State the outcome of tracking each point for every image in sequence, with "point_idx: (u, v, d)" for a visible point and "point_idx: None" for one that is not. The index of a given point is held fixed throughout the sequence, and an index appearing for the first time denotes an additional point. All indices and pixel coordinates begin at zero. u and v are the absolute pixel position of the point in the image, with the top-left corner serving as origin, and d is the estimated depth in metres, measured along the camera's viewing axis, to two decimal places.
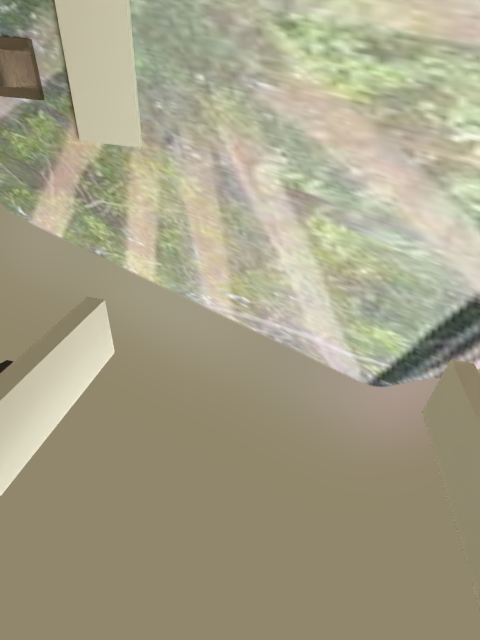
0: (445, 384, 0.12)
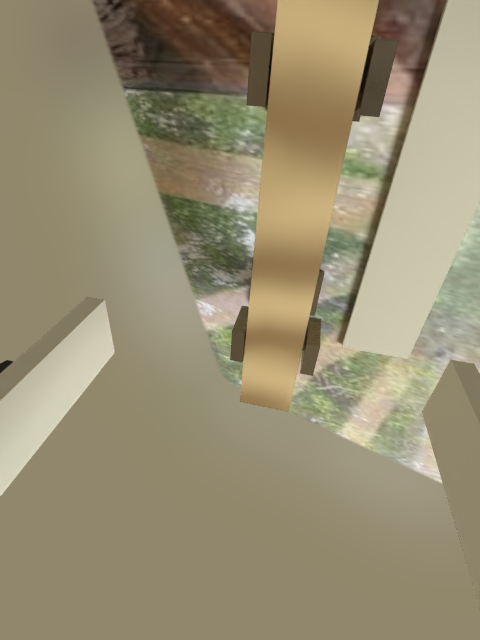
0: (444, 385, 0.12)
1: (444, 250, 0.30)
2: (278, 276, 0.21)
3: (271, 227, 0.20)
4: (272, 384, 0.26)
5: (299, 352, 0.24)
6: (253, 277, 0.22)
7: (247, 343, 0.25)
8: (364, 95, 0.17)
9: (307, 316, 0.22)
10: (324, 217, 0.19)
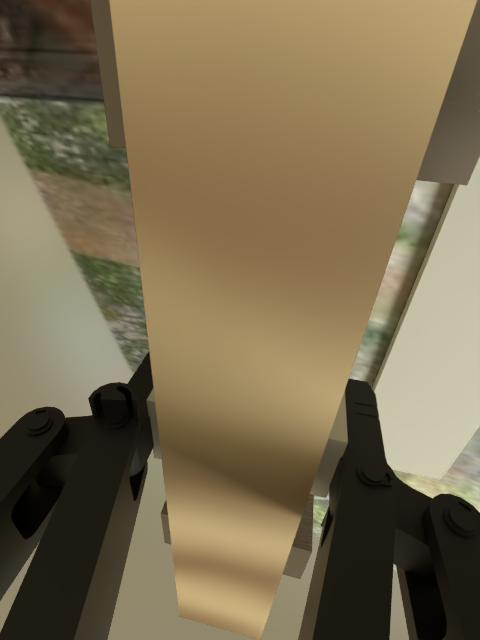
0: None
1: None
2: (219, 499, 0.10)
3: (191, 427, 0.08)
4: (229, 612, 0.15)
5: (272, 591, 0.13)
6: (169, 493, 0.10)
7: (177, 566, 0.13)
8: None
9: (284, 556, 0.11)
10: (314, 425, 0.07)
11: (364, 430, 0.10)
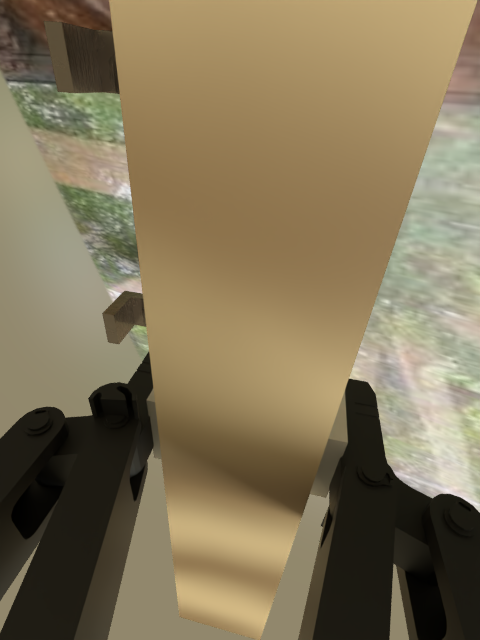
0: None
1: None
2: (219, 500, 0.10)
3: (191, 428, 0.08)
4: (229, 612, 0.15)
5: (272, 592, 0.13)
6: (169, 494, 0.10)
7: (177, 566, 0.13)
8: None
9: (284, 557, 0.11)
10: (314, 426, 0.07)
11: (364, 430, 0.10)
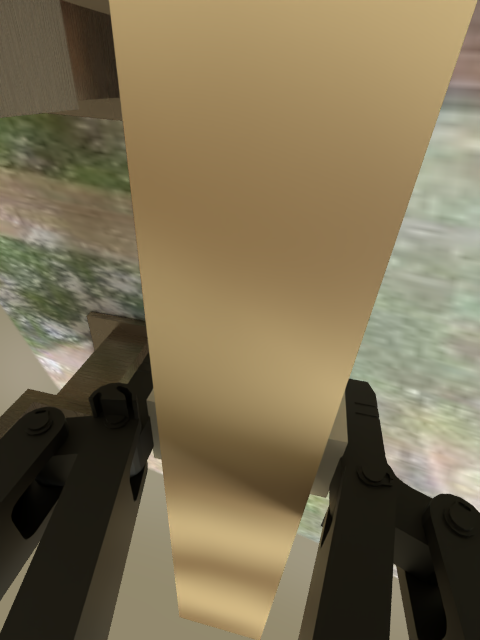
0: None
1: None
2: (219, 501, 0.10)
3: (191, 429, 0.08)
4: (229, 612, 0.15)
5: (272, 592, 0.13)
6: (169, 494, 0.10)
7: (177, 567, 0.13)
8: None
9: (284, 557, 0.11)
10: (313, 426, 0.07)
11: (364, 429, 0.10)
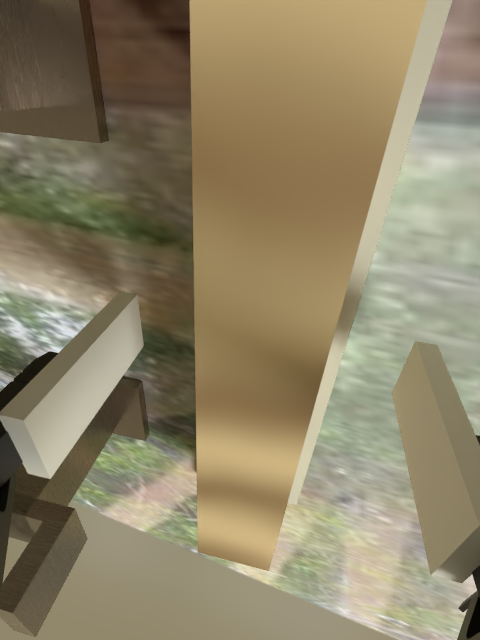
0: (409, 365, 0.13)
1: None
2: (240, 421, 0.12)
3: (222, 352, 0.11)
4: (242, 541, 0.17)
5: (281, 513, 0.15)
6: (199, 418, 0.13)
7: (200, 494, 0.16)
8: None
9: (292, 474, 0.13)
10: (317, 343, 0.10)
11: None
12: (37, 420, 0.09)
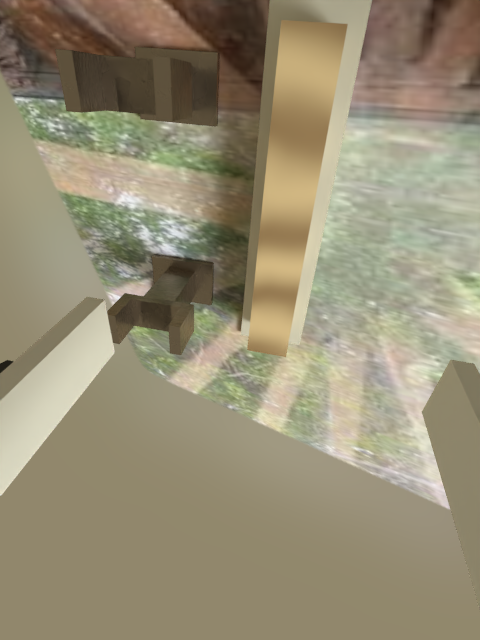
0: (445, 385, 0.12)
1: (309, 242, 0.33)
2: (278, 243, 0.29)
3: (273, 206, 0.27)
4: (273, 333, 0.34)
5: (294, 304, 0.32)
6: (259, 244, 0.29)
7: (254, 298, 0.32)
8: (156, 103, 0.20)
9: (299, 274, 0.30)
10: (310, 197, 0.26)
11: None
12: None
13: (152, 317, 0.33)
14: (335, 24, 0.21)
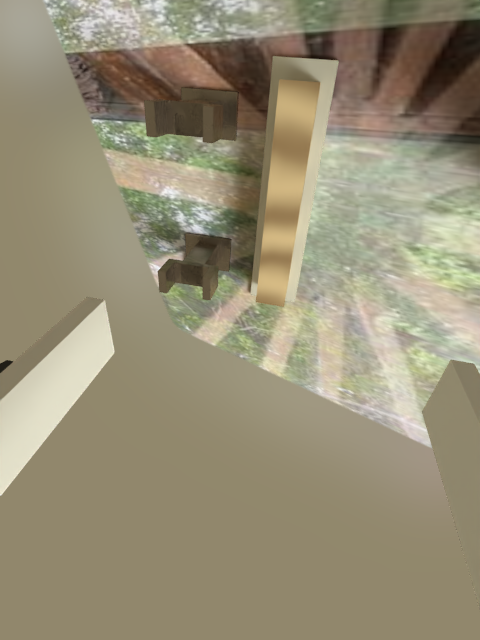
0: (444, 385, 0.12)
1: (301, 222, 0.46)
2: (277, 221, 0.42)
3: (274, 195, 0.40)
4: (274, 288, 0.47)
5: (289, 266, 0.45)
6: (265, 222, 0.42)
7: (261, 262, 0.45)
8: (203, 132, 0.33)
9: (293, 244, 0.43)
10: (299, 190, 0.39)
11: None
12: None
13: (188, 275, 0.46)
14: (312, 82, 0.34)
